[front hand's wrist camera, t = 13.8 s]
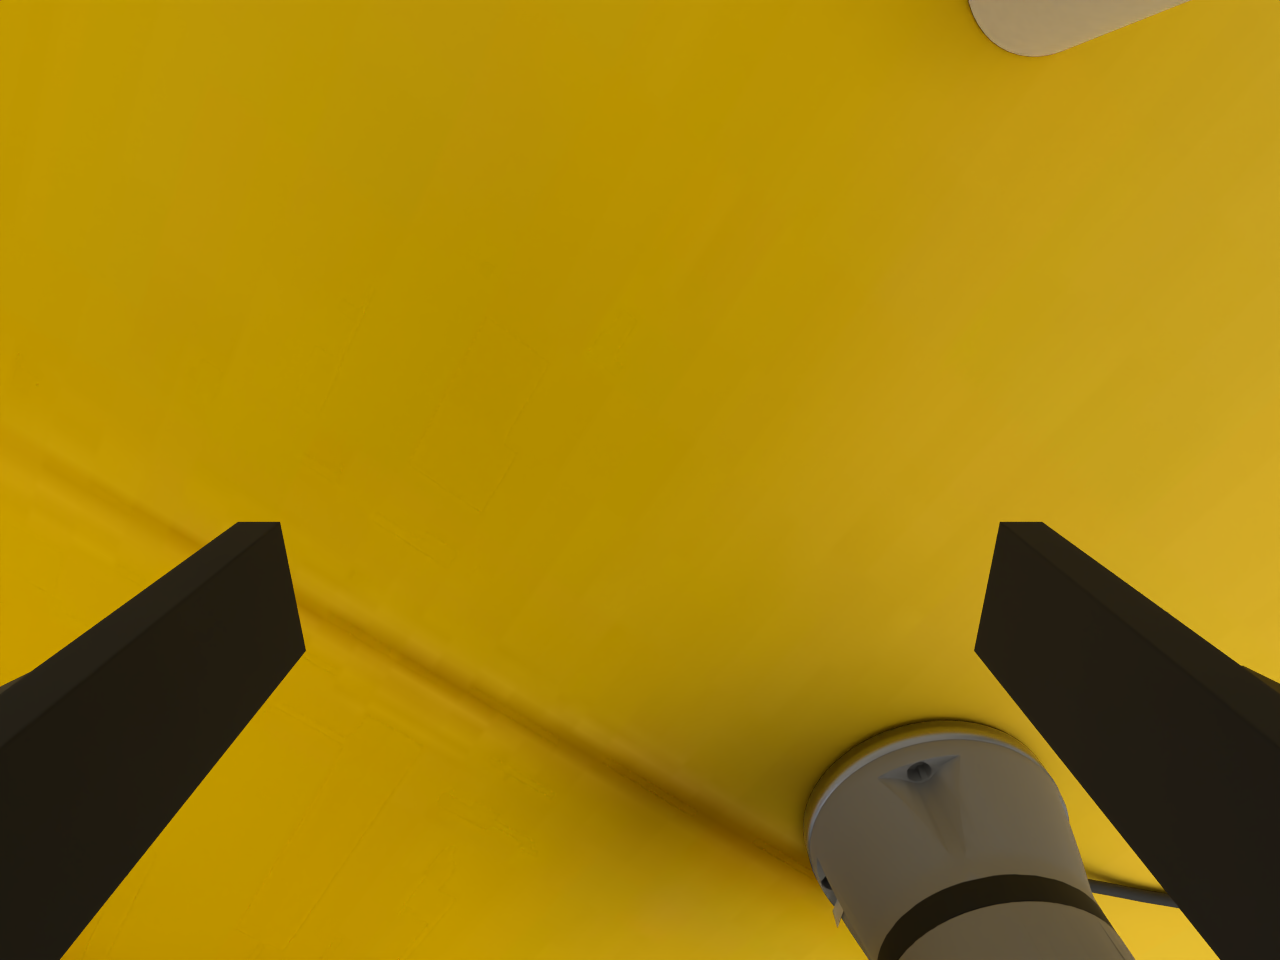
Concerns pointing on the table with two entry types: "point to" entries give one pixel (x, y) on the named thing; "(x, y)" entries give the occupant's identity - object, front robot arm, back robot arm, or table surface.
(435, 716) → the table surface
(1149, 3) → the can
